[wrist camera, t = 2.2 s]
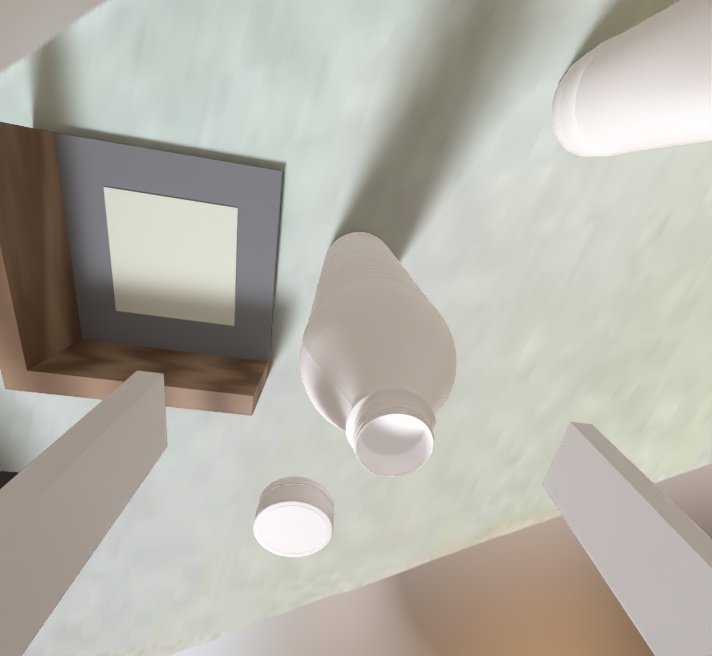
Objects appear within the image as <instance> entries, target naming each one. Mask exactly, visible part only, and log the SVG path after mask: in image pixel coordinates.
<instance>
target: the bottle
mask: <svg viewBox="0 0 712 656" xmlns="http://www.w3.org/2000/svg"><path fill="white" fill-rule="evenodd" d="M552 126H553V129H554V132H555V135H556V138H557V140H558V141H559V142H560V143H561V144H562V146H563V147H564V148H565V149H566V150H567V151H569V152H571V153H573V154H576V155H578V156H612V155H618V154H622V153H624V152H631V151H638V150H646V149H653V148H660V147H668V146H675V145H682V144H690V143H697V142H704V141H712V0H679V1H678V2H676V3H674V4H672V5H671V6H669V7H667V8H665V9H664V10H662V11H660V12H658V13H657V14H655V15H653V16H651V17H649V18H648V19H646V20H644V21H642V22H641V23H639V24H637V25H635V26H634V27H632V28H630V29H628V30H626V31H625V32H623V33H621V34H619V35H616V36H614V37H611V38H609V39H607V40H606V41H604V42H602V43H601V44H599V45H597V46H596V47H595V48H594V49H593V50H591V51H589V52H588V53H586V54H585V55H583V56H582V57H581V58H580V59H579V60H578V61H576V62H575V63H574V64H573V65H572V66H571V67H570V68H569V69H568V71H567V72H566V74H565V75H564V77H563V78H562V80H561V81H560V83H559V84H558V87H557V90H556V94H555V97H554V100H553V103H552Z"/></svg>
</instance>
